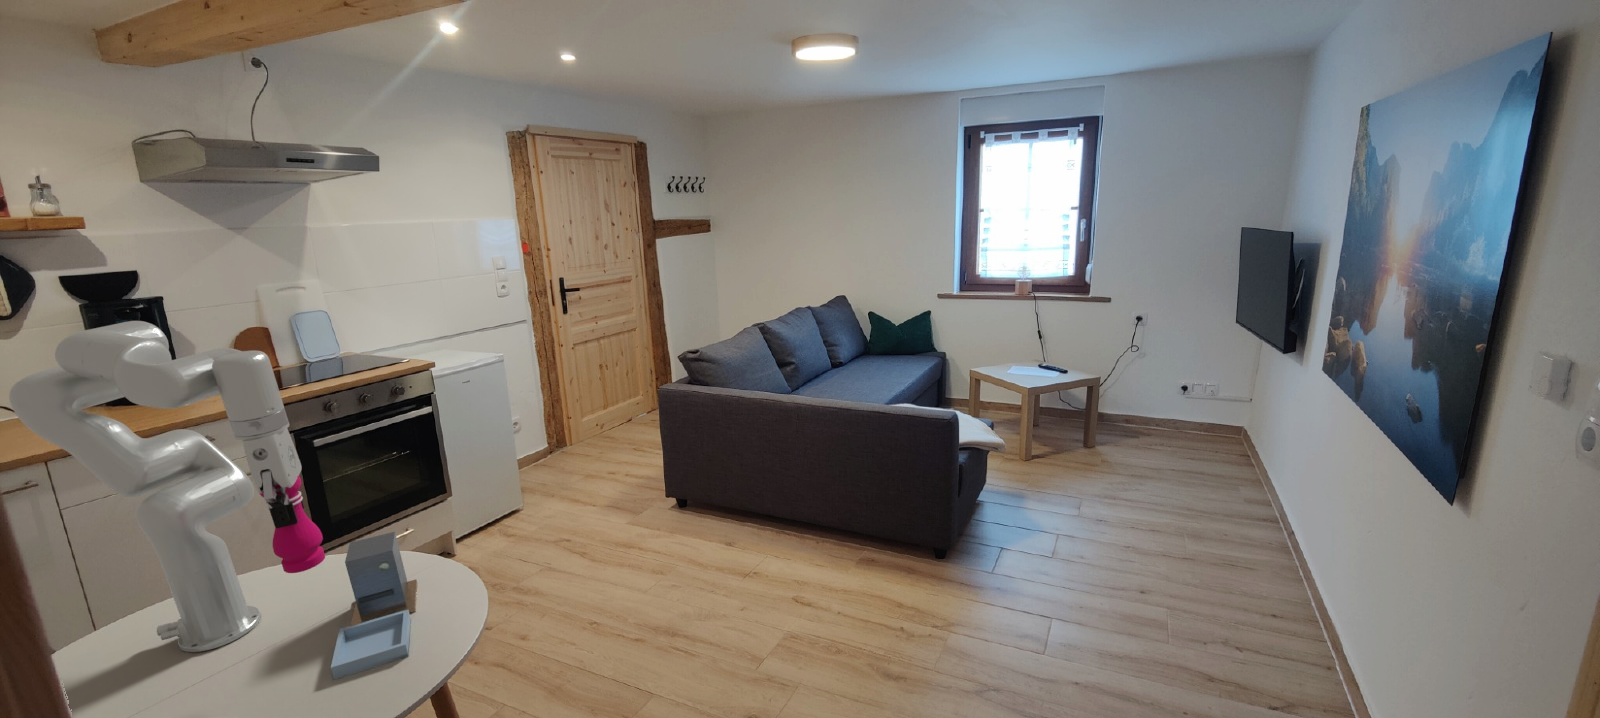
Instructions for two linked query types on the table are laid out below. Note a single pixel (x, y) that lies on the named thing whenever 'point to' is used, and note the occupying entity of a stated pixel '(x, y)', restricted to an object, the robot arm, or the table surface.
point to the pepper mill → (298, 537)
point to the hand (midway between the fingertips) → (290, 517)
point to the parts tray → (371, 644)
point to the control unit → (379, 578)
